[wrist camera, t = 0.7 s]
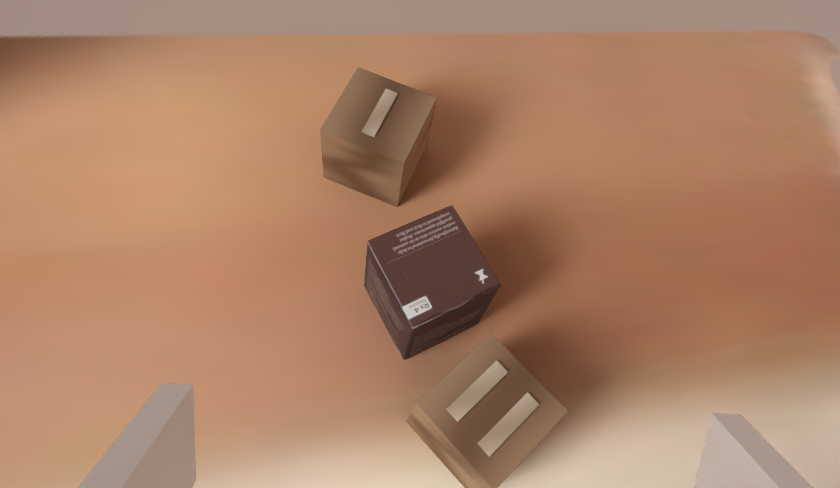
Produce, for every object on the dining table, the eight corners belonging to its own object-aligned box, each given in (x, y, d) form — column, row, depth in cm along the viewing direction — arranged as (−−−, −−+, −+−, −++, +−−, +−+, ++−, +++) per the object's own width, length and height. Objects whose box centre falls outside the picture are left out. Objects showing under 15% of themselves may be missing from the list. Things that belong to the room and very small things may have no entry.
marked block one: (323, 177, 45) (320, 127, 39) (357, 119, 48) (358, 65, 42) (397, 207, 44) (404, 161, 39) (426, 147, 47) (437, 96, 42)
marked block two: (406, 421, 38) (416, 402, 32) (471, 359, 40) (491, 331, 34) (472, 497, 36) (495, 490, 31) (537, 428, 38) (569, 410, 33)
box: (438, 252, 43) (454, 202, 37) (480, 324, 41) (504, 285, 34) (362, 285, 41) (364, 239, 35) (401, 363, 39) (411, 329, 33)
